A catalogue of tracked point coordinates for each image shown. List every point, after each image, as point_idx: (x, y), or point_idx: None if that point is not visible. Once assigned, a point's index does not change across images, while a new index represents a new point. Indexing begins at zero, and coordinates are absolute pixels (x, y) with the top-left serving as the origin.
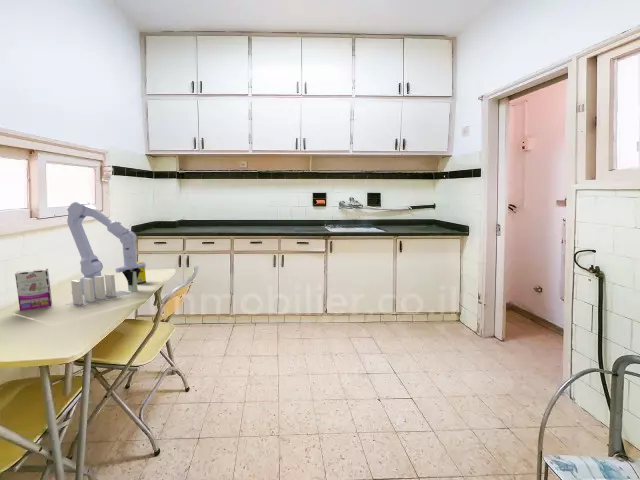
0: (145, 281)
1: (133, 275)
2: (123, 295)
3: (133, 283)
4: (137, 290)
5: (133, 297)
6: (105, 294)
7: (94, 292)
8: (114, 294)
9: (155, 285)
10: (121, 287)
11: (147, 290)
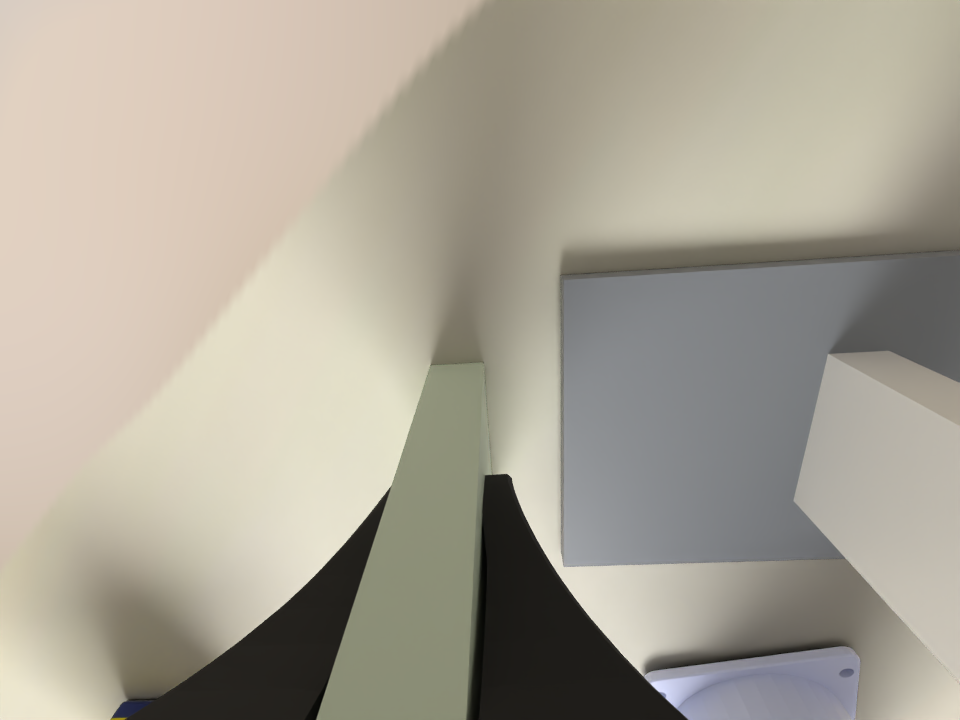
0: (121, 712)
1: (467, 610)
2: (764, 268)
3: (480, 462)
4: (430, 375)
5: (732, 17)
6: (803, 554)
7: (820, 697)
8: (876, 364)
9: (75, 490)
10: None
11: (287, 312)
